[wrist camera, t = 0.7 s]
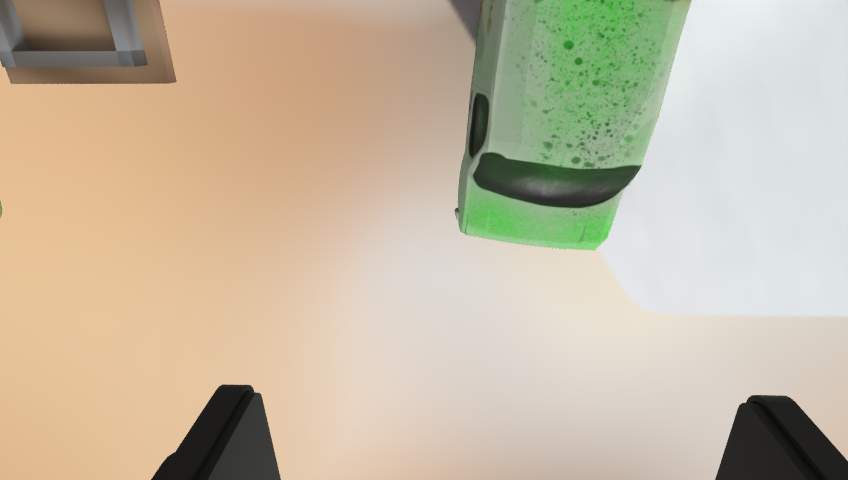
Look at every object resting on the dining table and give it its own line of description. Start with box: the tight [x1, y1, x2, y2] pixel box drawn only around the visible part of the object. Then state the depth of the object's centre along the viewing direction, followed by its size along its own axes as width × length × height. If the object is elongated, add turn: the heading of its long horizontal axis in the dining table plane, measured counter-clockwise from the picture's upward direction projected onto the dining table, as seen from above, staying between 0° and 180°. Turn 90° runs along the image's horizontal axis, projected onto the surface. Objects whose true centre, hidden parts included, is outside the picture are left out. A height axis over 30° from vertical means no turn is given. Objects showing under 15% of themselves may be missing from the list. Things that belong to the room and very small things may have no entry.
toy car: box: [455, 0, 691, 250], centre depth 28 cm, size 11×25×10 cm, turn 175°
